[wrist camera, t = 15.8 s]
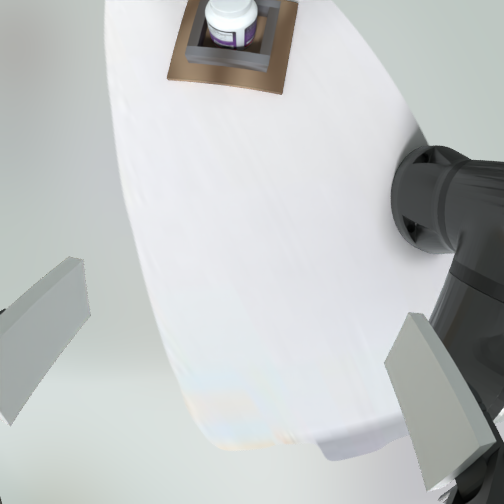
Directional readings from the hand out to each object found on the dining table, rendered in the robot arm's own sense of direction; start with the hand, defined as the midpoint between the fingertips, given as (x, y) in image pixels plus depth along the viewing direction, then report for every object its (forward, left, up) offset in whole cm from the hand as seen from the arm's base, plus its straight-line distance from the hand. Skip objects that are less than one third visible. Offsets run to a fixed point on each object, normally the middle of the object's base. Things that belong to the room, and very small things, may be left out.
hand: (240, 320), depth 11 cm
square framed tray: (+5, -22, -27) cm, 35 cm away
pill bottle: (+5, -22, -26) cm, 34 cm away
